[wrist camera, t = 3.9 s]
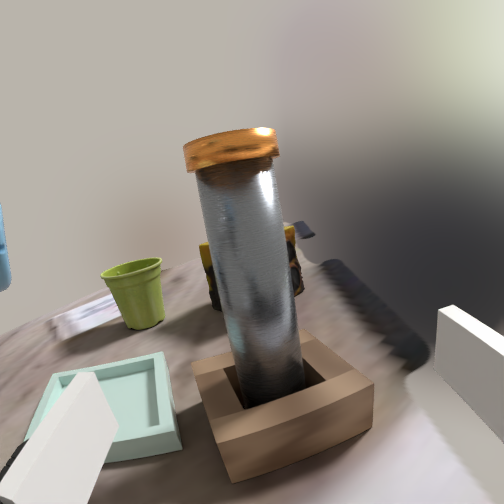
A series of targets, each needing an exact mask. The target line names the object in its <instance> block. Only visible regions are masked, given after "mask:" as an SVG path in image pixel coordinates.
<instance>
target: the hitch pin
mask: <svg viewBox="0 0 504 504" xmlns="http://www.w3.org/2000/svg"><path fill="white" fill-rule="evenodd" d="M183 151H184V157H185V162H186V168H187V172H188V173H195V174H196V180H197V185H198V191H199V196H200V202H201V207H202V212H203V218H204V223H205V228H206V233H207V238H208V243H209V249H210V254H211V258H212V263H213V268H214V273H215V278H216V283H217V287H218V292H219V297H220V302H221V306H222V311H223V315H224V320H225V324H226V329H227V333H228V338H229V342H230V346H231V351H232V355H233V359H234V364H235V368H236V372H237V376H238V380H239V384H240V389H241V393H242V397H243V401H244V405H245V409H246V410H247V409H250V408H253V407H256V406H259V405H262V404H265V403H268V402H271V401H274V400H277V399H280V398H283V397H285V396H288V395H291V394H294V393H296V392H299V391H302V390H304V389H306V386H305V377H304V369H303V361H302V353H301V345H300V337H299V329H298V322H297V314H296V307H295V299H294V292H293V285H292V278H291V271H290V265H289V258H288V251H287V245H286V238H285V232H284V225H283V219H282V213H281V207H280V201H279V195H278V188H277V183H276V177H275V171H274V165H273V159H274V158H277V157H279V156H280V154H279V149H278V142H277V137H276V132H275V130H273V129H270V128H251V129H240V130H233V131H227V132H222V133H217V134H213V135H209V136H205V137H202V138H199V139H196V140H193V141H191V142H188V143H187V144H185V145H184V146H183Z"/></svg>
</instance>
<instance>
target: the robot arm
mask: <svg viewBox="0 0 504 504" xmlns="http://www.w3.org/2000/svg"><path fill="white" fill-rule="evenodd" d="M10 283H11V272H10V265H9V259H8V252H7V245H6V239H5V231H4V224H3V215H2V207H1V204H0V292H1V291H4V290H6V289H7V288H8V287H9V285H10ZM436 337H437V338H436V348H435V359H434V368H433V369H434V370H435V371H436V372H437V373H438V374H439V375H440V376H441V377H442V378H443V379H444V381H445V382H446V383H447V384H448V385H449V386H451V388H452V389H453V390H454V391H455V392H456V393H457V394H458V395H459V396H460V397H461V398H462V399H463V400H464V401H465V402H466V403H467V404H468V405H469V406H470V407H471V409H472V410H473V411H474V412H475V413H476V414H477V415H478V416H479V417H480V418H481V419H482V420H483V421H484V422H485V423H486V425H487V426H488V427H489V428H490V429H491V430H492V431H493V432H494V433H495V434H496V435H497V436H498V438H499V439H500V440H501V441H502V442H503V443H504V337H503V336H502V335H500V334H498V333H497V332H495V331H494V330H492V329H491V328H489V327H488V326H486V325H484V324H483V323H481V322H480V321H478V320H476V319H475V318H474V317H472V316H470V315H469V314H467V313H466V312H464V311H462V310H461V309H459V308H457V307H456V306H454V305H451V306H449V307H445V308H442V309H439V310H438V322H437V336H436ZM118 428H119V424H118V422H117V420H116V418H115V416H114V414H113V412H112V410H111V408H110V406H109V404H108V402H107V400H106V397H105V395H104V393H103V391H102V389H101V386H100V384H99V382H98V380H97V377H96V375H95V373H94V372H78V373H77V374H76V376H75V377H74V378H73V380H72V381H71V382H70V384H69V385H68V386H67V388H66V389H65V390H64V392H63V393H62V394H61V396H60V397H59V398H58V400H57V401H56V402H55V404H54V405H53V406H52V408H51V409H50V411H49V412H48V413H47V415H46V416H45V417H44V419H43V420H42V422H41V423H40V424H39V426H38V427H37V429H36V430H35V432H34V433H33V434H32V436H31V437H30V439H27V440H26V441H24V442H23V443H22V444H21V445H19V446H18V447H17V449H16V450H15V452H14V453H13V455H12V456H11V459H9V460H8V462H7V463H6V467H5V466H4V468H3V469H2V471H1V472H0V504H87V503H88V500H89V498H90V495H91V493H92V490H93V488H94V485H95V483H96V480H97V478H98V475H99V473H100V470H101V468H102V466H103V463H104V461H105V458H106V456H107V454H108V451H109V449H110V447H111V444H112V442H113V440H114V437H115V435H116V433H117V430H118Z"/></svg>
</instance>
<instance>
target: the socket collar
mask: <svg viewBox="0 0 504 504" xmlns="http://www.w3.org/2000/svg"><path fill="white" fill-rule="evenodd" d="M299 337H300V345H301V353H302V361H303V369H304V377H305V386H306V389H304V390H302V391H299V392H296V393H294V394H291V395H288V396H285V397H283V398H280V399H277V400H274V401H271V402H268V403H265V404H262V405H259V406H256V407H253V408H250V409H247V410H243V408H242V405H244V401H243V397H242V393H241V389H240V384H239V380H238V376H237V372H236V368H235V364H234V359H233V355H232V351H231V352H228V353H224V354H221V355H217V356H213V357H210V358H206V359H202V360H198V361H195V362H191V366H192V369H193V372H194V376H195V379H196V382H197V386H198V389H199V392H200V395H201V398H202V402H203V405H204V408H205V411H206V414H207V417H208V420H209V423H210V426H211V429H212V432H213V434H214V437H215V440H216V443H217V446H218V449H219V451H220V454H221V457H222V459H223V462H224V464H225V467H226V470H227V472H228V475H229V477H230V480H231V482H232V484H233V483H237V482H240V481H243V480H247V479H250V478H253V477H256V476H259V475H262V474H265V473H268V472H271V471H274V470H276V469H279V468H282V467H285V466H287V465H290V464H293V463H295V462H298V461H300V460H303V459H305V458H308V457H310V456H312V455H315V454H317V453H319V452H322V451H324V450H326V449H328V448H331V447H333V446H335V445H337V444H339V443H341V442H344V441H346V440H348V439H350V438H352V437H354V436H356V435H358V434H360V433H362V432H364V431H366V430H367V429H369V428H371V427H372V422H373V402H374V383H373V382H372V381H371V380H369V379H368V378H367V377H365V376H364V375H363V374H362V373H360V372H359V371H358V370H356V369H355V368H354V367H353V366H351V365H350V364H349V363H347V362H346V361H345V360H343V359H342V358H341V357H340V356H338V355H337V354H336V353H335V352H333V351H332V350H331V349H329V348H328V347H327V346H326V345H324V344H323V343H322V342H321V341H319V340H318V339H317V338H315V337H314V336H313V335H312V334H310V333H309V332H308V331H307V330H305V329H302V330H299Z"/></svg>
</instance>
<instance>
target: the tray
mask: <svg viewBox="0 0 504 504" xmlns="http://www.w3.org/2000/svg"><path fill="white" fill-rule="evenodd" d="M78 372H94V373H95V375H96V377H97V380H98V382H99V384H100V386H101V389H102V391H103V393H104V395H105V397H106V400H107V402H108V404H109V406H110V408H111V410H112V412H113V414H114V416H115V418H116V420H117V422H118V424H119V428H118V430H117V433H116V435H115V437H114V440H113V442H112V444H111V447H110V449H109V451H108V454H107V456H106V458H105V461H104V463H110V462H117V461H124V460H131V459H137V458H143V457H148V456H153V455H158V454H163V453H168V452H173V451H177V450H182V449H183V447H182V443H181V438H180V433H179V428H178V423H177V417H176V412H175V407H174V401H173V395H172V389H171V383H170V377H169V371H168V366H167V363H166V360H165V357H164V354H163V351H162V352H158V353H153V354H149V355H145V356H140V357H136V358H131V359H127V360H122V361H117V362H113V363H108V364H103V365H98V366H93V367H88V368H82V369H77V370H72V371H66V372H60V373H54V374H53V375H52V377H51V379H50V381H49V383H48V385H47V387H46V390H45V392H44V394H43V396H42V398H41V401H40V403H39V405H38V408H37V410H36V412H35V415H34V417H33V419H32V422H31V424H30V427H29V429H28V432H27V434H26V437H25V439H24V441H26V440H27V439H30V437H31V436H32V434H33V433H34V432H35V430H36V429H37V427H38V426H39V424H40V423H41V422H42V420H43V419H44V417H45V416H46V415H47V413H48V412H49V411H50V409H51V408H52V406H53V405H54V404H55V402H56V401H57V400H58V398H59V397H60V396H61V394H62V393H63V392H64V390H65V389H66V388H67V386H68V385H69V384H70V382H71V381H72V380H73V378H74V377H75V376H76V374H77V373H78Z"/></svg>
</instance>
